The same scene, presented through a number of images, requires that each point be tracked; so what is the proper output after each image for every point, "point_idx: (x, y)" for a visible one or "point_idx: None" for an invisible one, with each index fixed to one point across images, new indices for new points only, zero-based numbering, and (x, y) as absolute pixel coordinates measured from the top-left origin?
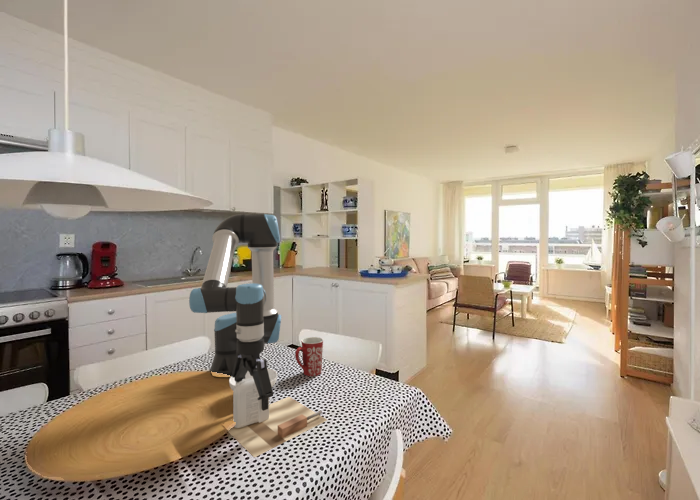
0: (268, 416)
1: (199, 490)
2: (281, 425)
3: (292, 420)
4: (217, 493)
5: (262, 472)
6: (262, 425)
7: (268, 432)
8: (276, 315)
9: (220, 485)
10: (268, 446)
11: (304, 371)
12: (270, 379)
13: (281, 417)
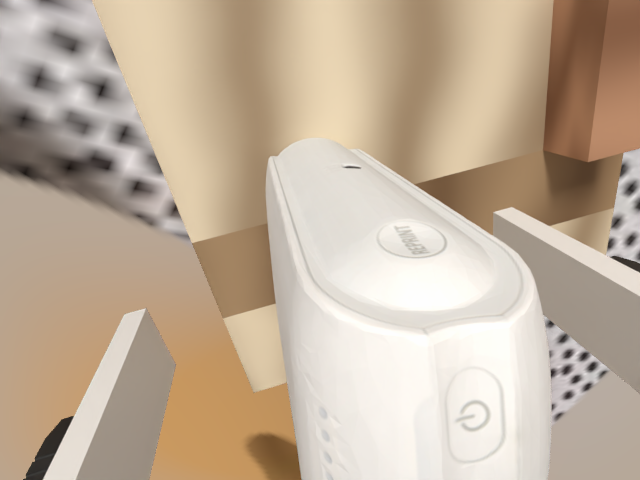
0: (523, 213)
1: (551, 414)
2: (606, 138)
3: (626, 36)
4: (598, 378)
5: (637, 258)
6: None
7: (490, 192)
8: None
9: (578, 372)
10: (588, 222)
11: None
12: None
13: (392, 54)
